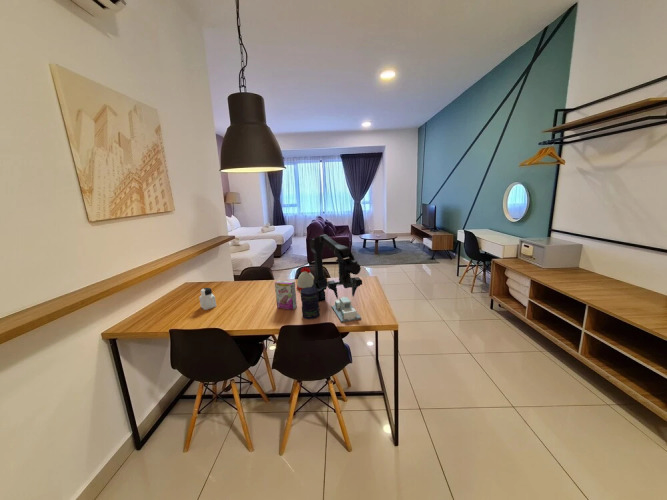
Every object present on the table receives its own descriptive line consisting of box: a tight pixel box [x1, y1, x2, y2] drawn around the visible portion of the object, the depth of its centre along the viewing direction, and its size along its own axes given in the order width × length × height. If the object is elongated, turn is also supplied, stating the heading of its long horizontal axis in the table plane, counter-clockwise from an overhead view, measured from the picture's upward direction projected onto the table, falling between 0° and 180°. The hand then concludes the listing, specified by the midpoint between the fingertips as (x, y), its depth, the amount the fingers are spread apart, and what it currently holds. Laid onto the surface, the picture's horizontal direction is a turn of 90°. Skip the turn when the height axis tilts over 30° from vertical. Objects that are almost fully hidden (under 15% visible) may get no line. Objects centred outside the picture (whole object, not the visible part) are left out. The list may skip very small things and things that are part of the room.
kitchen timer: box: [296, 266, 315, 291], centre depth 193 cm, size 14×14×15 cm
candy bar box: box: [274, 279, 298, 311], centre depth 160 cm, size 11×5×16 cm, turn 71°
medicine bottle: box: [198, 287, 217, 311], centre depth 167 cm, size 7×7×12 cm
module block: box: [339, 296, 352, 311], centre depth 150 cm, size 4×7×7 cm, turn 15°
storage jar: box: [300, 287, 321, 320], centre depth 149 cm, size 10×10×15 cm
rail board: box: [331, 299, 362, 324], centre depth 150 cm, size 11×20×4 cm, turn 15°
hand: (345, 297), depth 149 cm, fingers open, 9 cm apart
